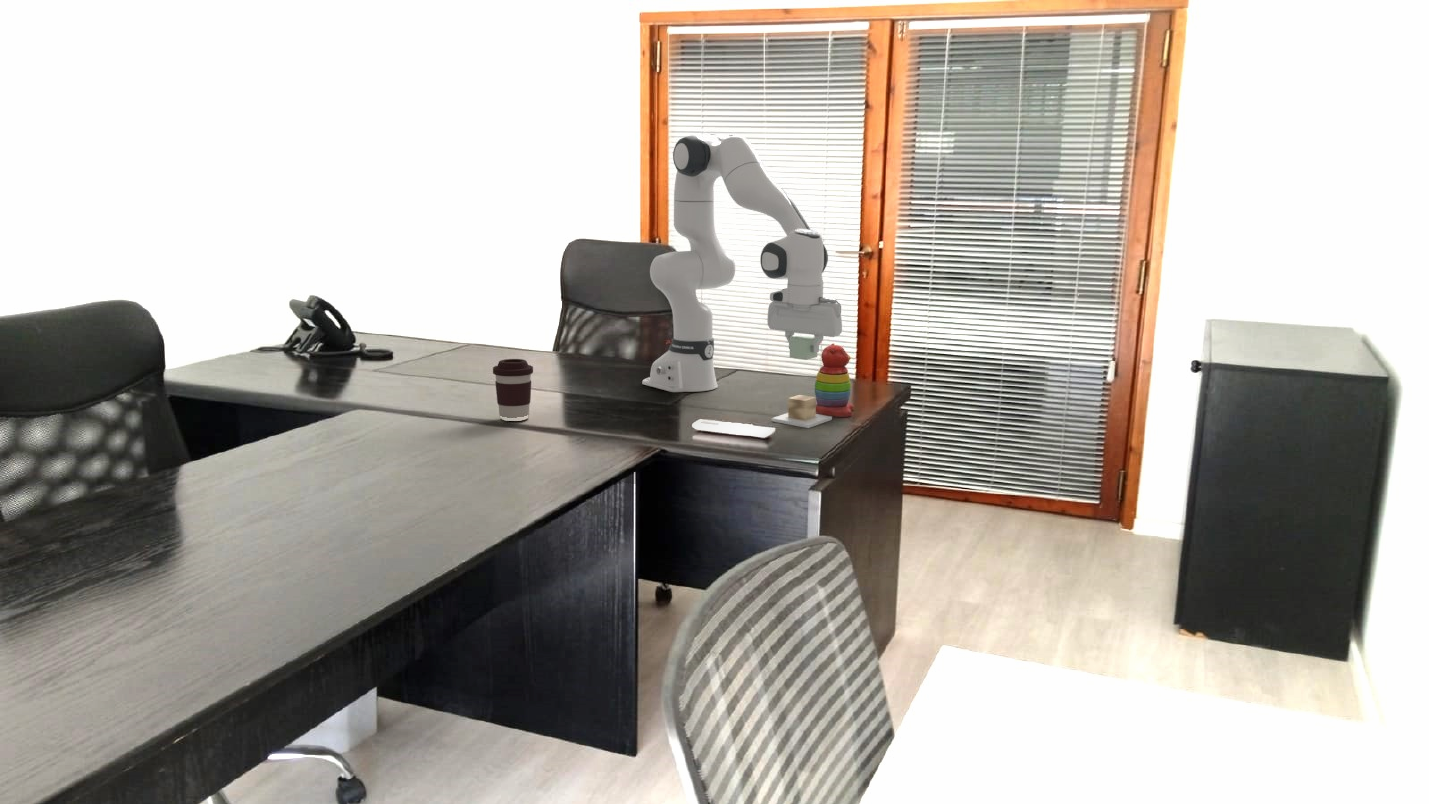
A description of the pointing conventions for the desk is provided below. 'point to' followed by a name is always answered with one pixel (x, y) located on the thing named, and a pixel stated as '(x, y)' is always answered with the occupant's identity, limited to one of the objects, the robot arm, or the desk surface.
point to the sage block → (802, 347)
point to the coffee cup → (513, 387)
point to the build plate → (802, 423)
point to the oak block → (802, 407)
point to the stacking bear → (833, 383)
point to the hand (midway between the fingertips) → (803, 350)
